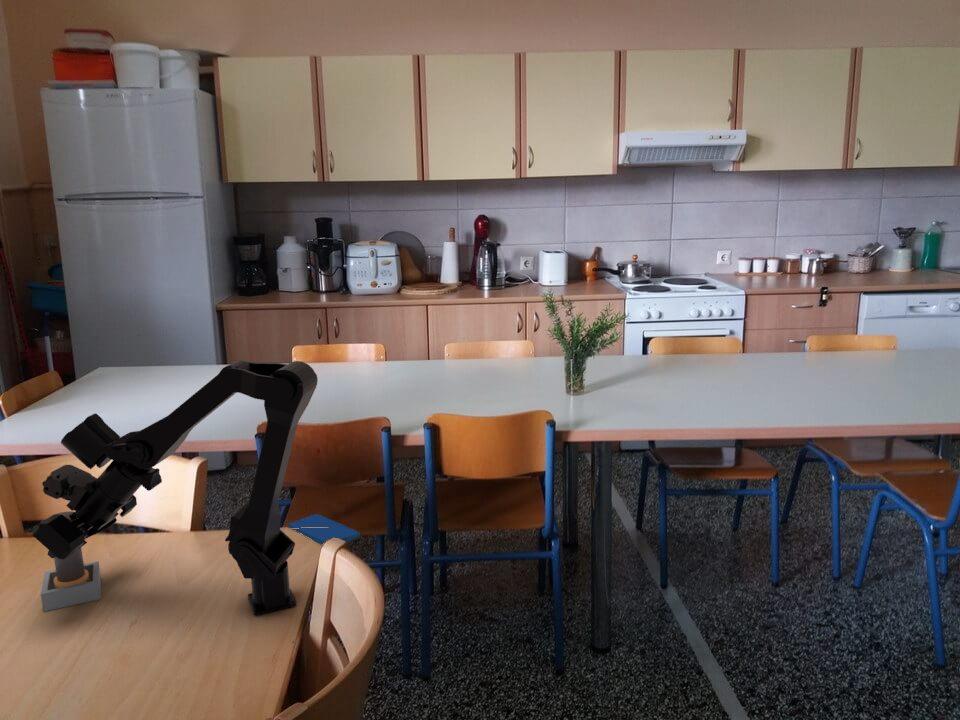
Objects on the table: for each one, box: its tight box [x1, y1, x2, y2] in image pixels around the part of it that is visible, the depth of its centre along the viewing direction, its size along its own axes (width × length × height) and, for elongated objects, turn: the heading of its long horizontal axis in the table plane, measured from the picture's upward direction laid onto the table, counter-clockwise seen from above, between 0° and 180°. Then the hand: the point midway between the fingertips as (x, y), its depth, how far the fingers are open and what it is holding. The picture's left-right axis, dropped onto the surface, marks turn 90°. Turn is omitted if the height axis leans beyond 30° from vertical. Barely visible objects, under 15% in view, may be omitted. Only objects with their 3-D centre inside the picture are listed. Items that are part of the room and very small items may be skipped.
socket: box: [40, 560, 102, 612], centre depth 121 cm, size 8×8×3 cm
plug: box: [49, 510, 90, 589], centre depth 119 cm, size 5×5×12 cm
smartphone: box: [287, 513, 361, 546], centre depth 143 cm, size 7×1×15 cm
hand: (59, 549), depth 119 cm, fingers closed on plug, 4 cm apart
